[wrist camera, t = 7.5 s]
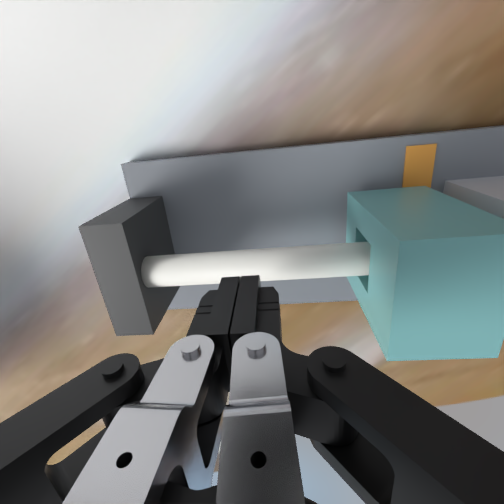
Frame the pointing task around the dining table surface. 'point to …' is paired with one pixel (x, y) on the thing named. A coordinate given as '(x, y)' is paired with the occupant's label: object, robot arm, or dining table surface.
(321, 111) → the dining table surface
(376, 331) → the sleeve
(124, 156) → the dining table surface
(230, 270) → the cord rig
